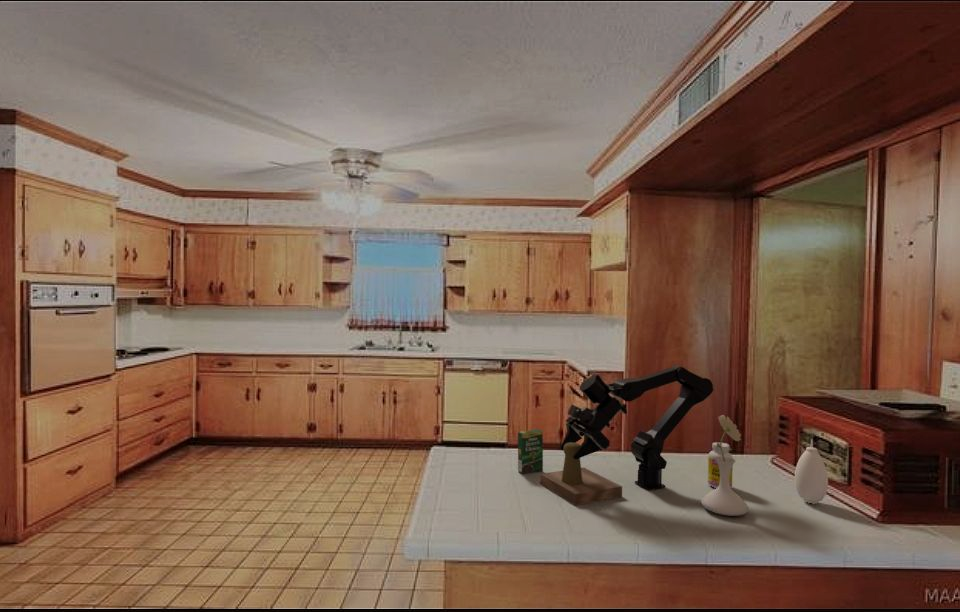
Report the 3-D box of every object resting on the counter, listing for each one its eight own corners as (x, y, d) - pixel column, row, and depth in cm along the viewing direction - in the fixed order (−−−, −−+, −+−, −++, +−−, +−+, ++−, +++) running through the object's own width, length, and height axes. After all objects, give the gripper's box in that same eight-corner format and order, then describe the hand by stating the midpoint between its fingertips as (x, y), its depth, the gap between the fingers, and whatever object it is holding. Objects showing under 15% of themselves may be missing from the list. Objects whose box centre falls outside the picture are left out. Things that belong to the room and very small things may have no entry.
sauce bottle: (825, 501, 145) (827, 437, 145) (829, 510, 138) (830, 443, 138) (793, 495, 149) (794, 433, 149) (795, 504, 142) (796, 439, 142)
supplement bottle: (708, 488, 153) (708, 445, 153) (707, 481, 160) (708, 440, 159) (733, 492, 151) (733, 448, 151) (731, 485, 157) (732, 442, 157)
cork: (586, 483, 147) (587, 445, 147) (567, 485, 146) (567, 446, 145) (576, 476, 153) (577, 439, 153) (557, 478, 151) (558, 441, 151)
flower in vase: (752, 522, 130) (754, 423, 129) (703, 516, 133) (705, 419, 133) (742, 503, 142) (744, 413, 142) (697, 498, 145) (699, 410, 145)
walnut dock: (583, 476, 162) (583, 467, 162) (622, 496, 146) (622, 486, 146) (540, 483, 155) (540, 473, 155) (575, 505, 139) (575, 494, 139)
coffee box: (521, 474, 164) (521, 433, 164) (516, 471, 166) (517, 431, 166) (543, 471, 167) (543, 431, 167) (538, 468, 170) (539, 429, 169)
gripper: (572, 390, 159) (537, 427, 157) (600, 401, 141) (562, 443, 139) (595, 414, 161) (561, 451, 159) (625, 428, 143) (588, 471, 140)
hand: (567, 453), depth 149 cm, fingers open, 9 cm apart
